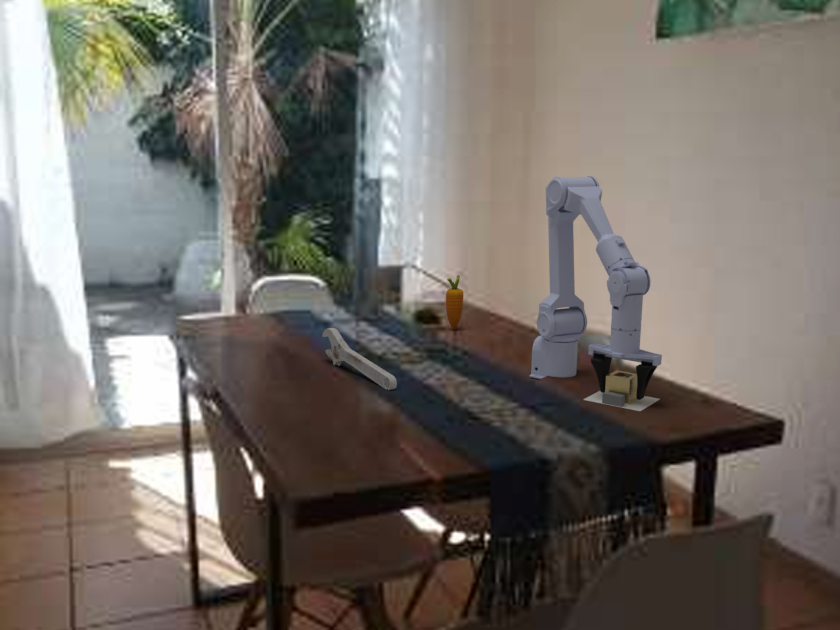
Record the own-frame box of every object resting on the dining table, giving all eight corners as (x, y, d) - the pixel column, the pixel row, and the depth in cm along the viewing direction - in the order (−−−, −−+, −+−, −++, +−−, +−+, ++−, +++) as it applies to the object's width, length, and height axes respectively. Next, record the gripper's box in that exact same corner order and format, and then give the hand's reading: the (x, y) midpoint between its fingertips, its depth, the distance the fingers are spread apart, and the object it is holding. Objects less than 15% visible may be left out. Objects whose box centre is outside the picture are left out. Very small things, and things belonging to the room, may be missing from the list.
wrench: (388, 404, 188) (320, 357, 211) (395, 402, 189) (327, 356, 212) (391, 368, 185) (322, 325, 208) (398, 367, 186) (329, 324, 209)
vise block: (582, 405, 178) (584, 377, 177) (604, 393, 186) (605, 367, 185) (639, 417, 171) (641, 388, 170) (659, 404, 179) (661, 377, 178)
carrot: (448, 332, 240) (448, 277, 237) (442, 328, 245) (443, 274, 242) (465, 331, 242) (466, 276, 238) (459, 327, 246) (461, 273, 243)
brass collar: (604, 399, 178) (606, 375, 177) (615, 394, 182) (616, 370, 181) (628, 404, 175) (629, 379, 174) (638, 398, 179) (640, 374, 178)
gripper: (582, 326, 176) (579, 392, 179) (653, 337, 168) (648, 406, 171) (598, 320, 182) (595, 385, 185) (667, 330, 174) (662, 397, 176)
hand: (621, 394), depth 178 cm, fingers open, 7 cm apart
